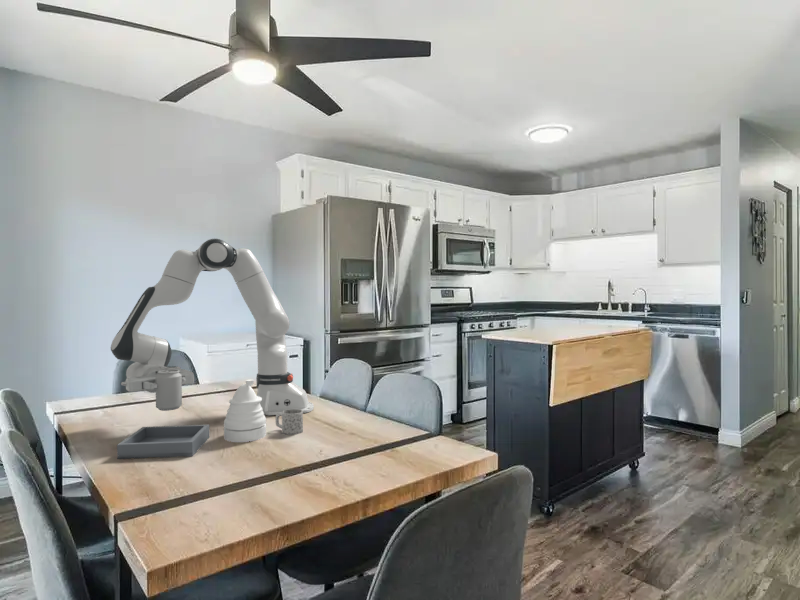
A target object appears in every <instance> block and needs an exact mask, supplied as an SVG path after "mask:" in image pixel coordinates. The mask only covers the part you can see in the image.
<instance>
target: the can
mask: <svg viewBox="0 0 800 600" xmlns="http://www.w3.org/2000/svg"><path fill="white" fill-rule="evenodd" d="M155 383H157V389H156V393H155V408H156V409H158V410H159V411H162V412H163V411H165V412H167V411H168V412H169V411H175V410H178V409H180V408H181V406H183V388H182V387H183V385H182V375H181V374H180V373H179V370H173V369H172V370H161V371H158V374H157V376H156V377H155Z"/></svg>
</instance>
